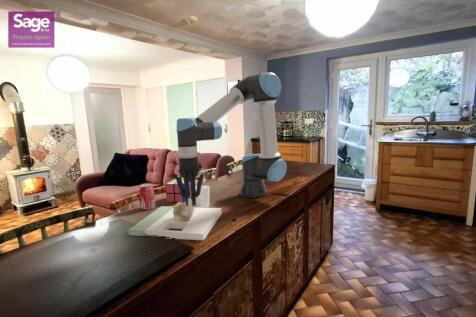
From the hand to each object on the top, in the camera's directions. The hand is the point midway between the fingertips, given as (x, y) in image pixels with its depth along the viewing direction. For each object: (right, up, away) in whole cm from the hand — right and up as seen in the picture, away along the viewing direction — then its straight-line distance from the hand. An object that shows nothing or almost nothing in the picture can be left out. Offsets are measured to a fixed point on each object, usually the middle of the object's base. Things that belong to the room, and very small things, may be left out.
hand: (191, 212), depth 108 cm
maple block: (-4, -3, +1) cm, 5 cm away
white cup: (+1, -2, +23) cm, 23 cm away
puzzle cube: (-13, 0, +36) cm, 38 cm away
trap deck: (-5, -5, +2) cm, 8 cm away
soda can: (-26, -3, +23) cm, 35 cm away
